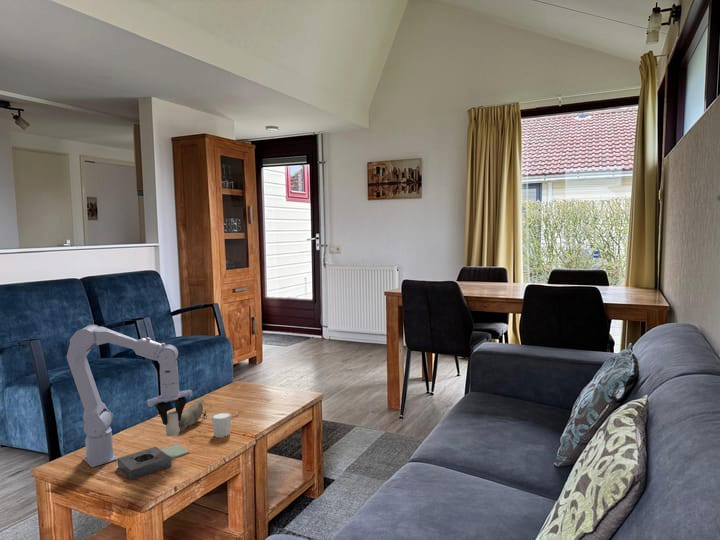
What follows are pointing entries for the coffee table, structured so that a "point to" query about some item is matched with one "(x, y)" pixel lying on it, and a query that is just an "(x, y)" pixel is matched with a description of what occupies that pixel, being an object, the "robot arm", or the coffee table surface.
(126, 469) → the housing
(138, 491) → the coffee table surface
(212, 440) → the coffee table surface
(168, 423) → the plug
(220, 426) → the white tapered cylinder
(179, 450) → the mat
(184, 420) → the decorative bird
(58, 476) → the coffee table surface
